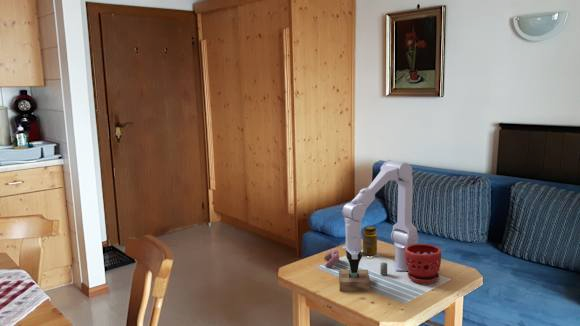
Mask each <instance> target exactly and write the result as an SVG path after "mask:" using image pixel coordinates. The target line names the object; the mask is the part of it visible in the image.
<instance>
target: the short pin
mask: <svg viewBox="0 0 580 326" xmlns="http://www.w3.org/2000/svg"><path fill="white" fill-rule="evenodd" d="M379 268H380V270H379V271H380V274H381V275H382V277H387V276H388V263H387V262H380V267H379ZM381 275H380V276H381Z"/></svg>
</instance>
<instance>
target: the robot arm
mask: <svg viewBox="0 0 580 326" xmlns="http://www.w3.org/2000/svg"><path fill="white" fill-rule="evenodd" d="M413 180H414V178H413V167H412V166H411V165H410V164H409V163H408V162H400V161H396V160H391V159H387V160H385V161H384V163H383V164H382V165H381V166H380V171H379V173H378V174H377V175H376V177H375V178H374V179H373V181H372V182H371V183H370V184H369V185H368V187H364V188H361V189H360V190H359V192H358V194H357V195H356V196H355V197H354V198H353V199H352V200H350V202H347V203H346V204H344V205H343V208H342V210H341V216H342V217H343V219H344V220H343V221H344V223H345V224H344V225H345V227H344V228H345V230H344V231H345V246H344V245H342V250H343V251H345V253H346V254H345V257H346V259H347V261H348V263H349V270H350V269H351V273H357V271H358V270H359V266H360V262H361V260H362V258H363V257H362V255H360V253H361V252H362V251H363V245H362V219H363V218H364V217H365V215H366V214H365V213H366V211H367V208H369V206H370V205H371V204H372V203H373V201H374V200H375V199H376V194H377V193H378V192H379V190H381V189H382V188H383V186H385V185H386V184H387V183H388V182H389V181H394V182H396V183H397V186H398V187H397V218H396V219H397V222H396V223H394V224H393V225H392V230H391V235H390V238H391V239H390V240H391V242H393V245H394V246H395V247H394V248H395V250H394V252H395V253H394V255H395V256H394V260H395V261H394V262H392V265H393V267H394V269H395V271H396V272H403V271H404V272H409V270H408V268H407V265H406V260H405V248H406V247H407V246H410V245H415V244H419V234H418V229H417V227H416V226H415V224H413V222H412V220H413V219H412V217H413V216H412V215H413V186H414V185H413V182H414V181H413ZM412 253H413V252H412ZM417 254H420V252H419V251H418V252H417ZM409 261H410V259H409Z"/></svg>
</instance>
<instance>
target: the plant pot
mask: <svg viewBox="0 0 580 326" xmlns="http://www.w3.org/2000/svg"><path fill="white" fill-rule="evenodd" d="M418 251H419V252H420V254H417V252H418ZM412 252H413V253H412ZM409 259H410V261H409ZM405 260H406V265H407V268H408V270H409V271H407V277H408V278H409V279H410V281H413V282H414V283H417V284H418V283H419V284H433V283H435V282H437V281H438V280H439V279H440V273H439V270H440V268H441V262H442V249H441V248H440V247H438V246H436V245H432V244H426V243H417V244H415V245H410V246H407V247H406V248H405Z"/></svg>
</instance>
